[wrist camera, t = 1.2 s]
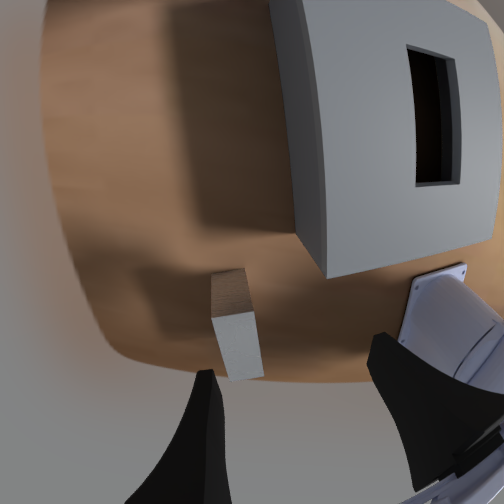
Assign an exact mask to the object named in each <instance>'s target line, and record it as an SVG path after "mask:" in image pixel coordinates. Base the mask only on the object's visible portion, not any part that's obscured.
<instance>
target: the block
mask: <svg viewBox="0 0 504 504" xmlns="http://www.w3.org/2000/svg"><path fill="white" fill-rule="evenodd" d="M211 319H212V323H213V326H214V330H215V333H216V337H217V340H218V344H219V347H220V350H221V354H222V357H223V360H224V364H225V367H226V370H227V373H228V377H229V380H230V381H231V382H232V381H238V380H245V379H251V378H257V377H263V376H264V372H263V366H262V359H261V353H260V347H259V341H258V334H257V328H256V322H255V315H254V310H253V305H252V300H251V295H250V291H249V286H248V281H247V276H246V272H245V268H243V269H237V270H231V271H225V272H219V273H213V274H211Z"/></svg>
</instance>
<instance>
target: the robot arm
mask: <svg viewBox="0 0 504 504" xmlns="http://www.w3.org/2000/svg"><path fill="white" fill-rule="evenodd" d="M466 269H467V264H466V263H461V264H458V265H455V266H452V267H449V268H445V269H442V270H439V271H435V272H432V273H429V274H425V275H422V276H418V277H416V278H415V279H414V280H413V282H412V286H411V291H410V295H409V300H408V304H407V308H406V312H405V316H404V320H403V324H402V328H401V331H400V335H399V338H398V341H396V340H395V339H394V338H392V337H391V336H390V335H388V334H387V333H386V332H383V333H380V334H377V335H374V336H373V341H372V345H371V349H370V353H369V357H368V361H367V367H368V369H369V372H370V375H371V377H372V380H373V382H374V384H375V386H376V388H377V389H378V391H379V393H380V395H381V397H382V398H383V400H384V402H385V404H386V406H387V408H388V410H389V411H390V413H391V415H392V417H393V419H394V421H395V423H396V426H397V429H398V431H399V434H400V437H401V440H402V443H403V446H404V449H405V452H406V456H407V460H408V464H409V468H410V473H411V479H412V485H413V488H414V491H415V492H418V491H419V490H421V489H423V488H425V487H427V486H429V485H430V484H432V483H434V482H435V481H437V480H439V482H438V483H437V484H435V485H433V486H432V487H430V488H428V489H426V490H425V491H423V492H421V493H419V494H417V495H415V496H414V497H411V498H410V499H408V500H406V501H404V502H402V503H399V504H424V503H426V502H427V501H429V500H431V499H432V501H431V504H488V503H489V502H490V501H491V500H492V499H493V498H494V497H495V496H496V495H497V494H498V493H499V492H500V491H501V489H502V488H503V487H504V320H503V319H502V318H501V317H500V316H499V315H498V314H497V313H496V312H495V311H494V310H493V309H492V308H491V307H490V306H489V305H488V304H487V303H486V302H484V301H483V300H482V299H481V298H480V297H479V296H478V295H477V294H476V293H475V292H473V291H472V290H471V289H470V288H469V287H468V286H467V285H465V284H464V283H463V280H464V277H465V273H466ZM124 504H232V502H231V496H230V490H229V484H228V478H227V471H226V462H225V416H224V407H223V399H222V394H221V391H220V388H219V386H218V383H217V380H216V377H215V374H214V371H213V369H209V370H200V371H198V372H197V374H196V378H195V382H194V386H193V389H192V392H191V395H190V398H189V401H188V404H187V407H186V409H185V412H184V414H183V417H182V419H181V421H180V424H179V426H178V428H177V430H176V433H175V435H174V437H173V438H172V441H171V442H170V444H169V446H168V447H167V449H166V451H165V453H164V454H163V456H162V457H161V459H160V461H159V462H158V464H157V465H156V466H155V468H154V469H153V471H152V472H151V473H150V474H149V476H148V477H147V478H146V480H145V481H144V482H143V483H142V485H141V486H140V487H139V488H138V489H137V490H136V491H135V492H134V493H133V494H132V495H131V496H130V498H128V499H127V500H126V502H125V503H124Z"/></svg>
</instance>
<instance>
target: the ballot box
mask: <svg viewBox="0 0 504 504" xmlns="http://www.w3.org/2000/svg"><path fill="white" fill-rule="evenodd" d="M268 5H269V10H270V16H271V21H272V27H273V33H274V39H275V46H276V52H277V59H278V65H279V72H280V80H281V87H282V95H283V103H284V111H285V119H286V128H287V137H288V146H289V156H290V167H291V178H292V189H293V201H294V215H295V229H296V235H297V236H298V238H299V239H300V241H301V242H302V243H303V245H304V246H305V248H306V249H307V251H308V252H309V253H310V255H311V256H312V258H313V259H314V261H315V262H316V264H317V265H318V267H319V268H320V270H321V271H322V273H323V274H324V276H325V277H326V279H330V278H335V277H339V276H344V275H349V274H354V273H358V272H363V271H367V270H372V269H376V268H380V267H385V266H389V265H393V264H398V263H402V262H406V261H410V260H414V259H418V258H422V257H426V256H430V255H434V254H438V253H442V252H446V251H449V250H453V249H457V248H461V247H464V246H468V245H471V244H475V243H479V242H482V241H485V240H489V239H491V238H492V234H493V229H494V223H495V218H496V211H497V205H498V197H499V189H500V179H501V165H502V111H501V98H500V88H499V80H498V73H497V67H496V61H495V56H494V51H493V46H492V42H491V38H490V34H489V30H488V26H487V23H485V22H484V21H482V20H480V19H479V18H477V17H475V16H474V15H472V14H470V13H469V12H467V11H465V10H463V9H461V8H459V7H457V6H456V5H454V4H452V3H450V2H448V1H446V0H270V2H269V4H268ZM407 49H410V50H414V51H418V52H422V53H425V54H429V55H432V56H434V59H435V65H436V72H437V79H438V88H439V98H440V110H441V132H442V162H441V182H423V183H415V182H416V130H415V112H414V99H413V89H412V81H411V73H410V66H409V60H408V54H407Z"/></svg>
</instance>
